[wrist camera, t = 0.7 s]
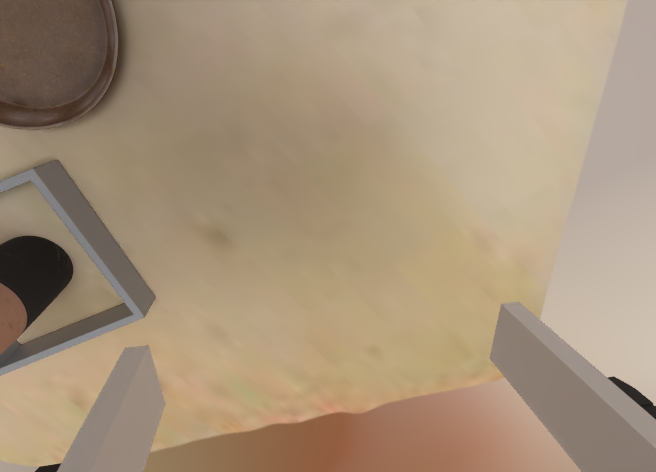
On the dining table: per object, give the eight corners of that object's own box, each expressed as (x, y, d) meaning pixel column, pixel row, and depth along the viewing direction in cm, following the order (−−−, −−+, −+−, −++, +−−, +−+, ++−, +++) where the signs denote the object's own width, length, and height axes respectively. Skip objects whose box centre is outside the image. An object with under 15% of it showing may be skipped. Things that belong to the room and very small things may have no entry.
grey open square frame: (-108, 226, 34) (-152, 243, 31) (57, 160, 34) (32, 168, 31) (19, 352, 42) (-5, 377, 38) (155, 297, 42) (144, 317, 38)
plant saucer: (60, 164, 35) (42, 171, 32) (-155, 13, 28) (-202, 5, 25) (171, 24, 32) (162, 18, 29) (-41, -183, 25) (-80, -217, 22)
